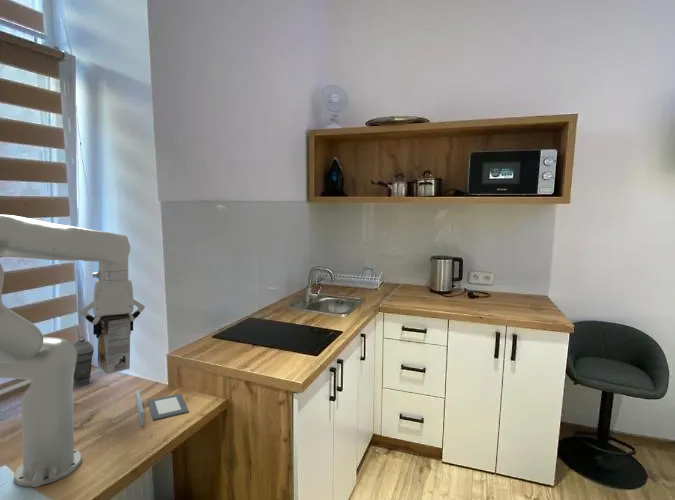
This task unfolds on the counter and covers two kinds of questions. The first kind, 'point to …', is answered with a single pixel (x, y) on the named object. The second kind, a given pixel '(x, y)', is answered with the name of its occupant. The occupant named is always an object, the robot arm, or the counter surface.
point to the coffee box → (114, 343)
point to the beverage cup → (83, 362)
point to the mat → (167, 407)
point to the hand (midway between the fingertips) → (113, 334)
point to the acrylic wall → (139, 408)
